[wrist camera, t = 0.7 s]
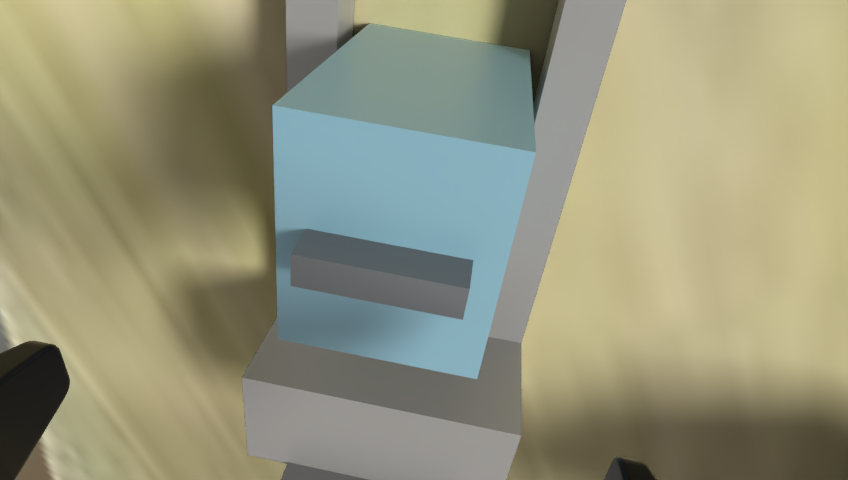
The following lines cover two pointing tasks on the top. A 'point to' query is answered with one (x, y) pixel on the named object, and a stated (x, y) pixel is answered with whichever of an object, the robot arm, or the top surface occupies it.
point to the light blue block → (401, 196)
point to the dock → (412, 386)
